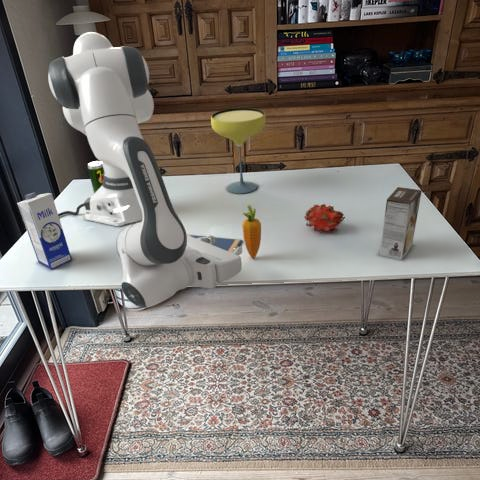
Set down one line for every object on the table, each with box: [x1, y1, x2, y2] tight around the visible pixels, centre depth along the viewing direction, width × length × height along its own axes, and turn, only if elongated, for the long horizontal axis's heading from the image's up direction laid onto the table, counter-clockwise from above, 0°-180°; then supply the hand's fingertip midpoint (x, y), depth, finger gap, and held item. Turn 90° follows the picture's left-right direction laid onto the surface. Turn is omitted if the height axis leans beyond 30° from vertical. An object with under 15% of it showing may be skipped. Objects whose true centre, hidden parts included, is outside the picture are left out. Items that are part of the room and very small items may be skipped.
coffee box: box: [379, 186, 423, 261], centre depth 125 cm, size 9×6×16 cm
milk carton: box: [16, 192, 73, 270], centre depth 130 cm, size 7×7×20 cm
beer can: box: [87, 160, 105, 194], centre depth 169 cm, size 5×5×12 cm
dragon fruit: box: [304, 203, 346, 234], centre depth 140 cm, size 8×8×12 cm
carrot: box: [241, 204, 262, 260], centre depth 126 cm, size 5×5×15 cm
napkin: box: [188, 234, 243, 252], centre depth 136 cm, size 18×14×1 cm
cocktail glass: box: [210, 107, 267, 195], centre depth 164 cm, size 18×18×25 cm
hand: (226, 243), depth 120 cm, fingers open, 8 cm apart
